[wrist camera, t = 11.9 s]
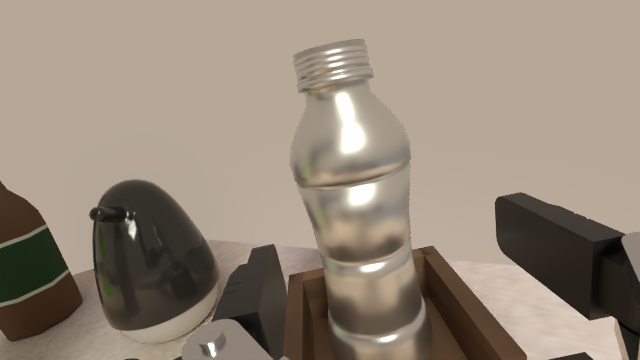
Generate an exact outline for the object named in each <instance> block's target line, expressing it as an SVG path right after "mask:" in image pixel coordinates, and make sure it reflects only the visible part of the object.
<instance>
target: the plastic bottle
mask: <svg viewBox="0 0 640 360" xmlns="http://www.w3.org/2000/svg"><path fill="white" fill-rule="evenodd" d="M293 58H294V61H293V62H294V66H295V71H296V75H297V79H298V85H297V88H298V92H299V93H304V94H305V96H306V108H305V110H304V112H303V115H302V117H301V119H300V122H299V125H298V126H297V129H296V132H295V136H294V139H293V142H292V145H291V154H290V166H291V169H292V172H293V176H294V179H295V181H296V182H297V187H298V190H299V192H300V195H301V197H302V200H303V203H304V205H305V207H306V210H307V213H308V216H309V218H310V221H311V223H312V226H313V230H314V234H315V237H316V240H317V245H318V247H319V250H320V255H321V259H322V262H323V266H324V274H325V282H326V290H327V298H328V306H329V310H328V330H329V342H330V346H331V349H332V352H333V354H334V356H335V358H336V360H430V357H431V349H432V339H433V330H432V324H431V321H430V317H429V313H428V310H427V307H426V304H425V302H424V299H423V297H422V295H421V291H420V287H419V282H418V278H417V273H416V269H415V264H414V260H413V255H412V248H411V237H410V219H409V190H410V162H409V161H410V159H411V156H410V140H409V138H408V136H407V133H406V131H405V129H404V126H403V124H402V123H401V122H400V121H399V120H398V119H397V117H396V116H395V115H394V114H393V113H392V112H391V110H390V109H389V108H388V107H387V106H386V105H384V103H382V102H381V101H380V100H379V99H378V98H377V97H376V96H375V95H374V94H373V93H372V92H371V90H370V87H369V84H368V80H369V78H372V77H374V76H373V70H372V69H370V64H369V58H368V52H367V46H366V44H365V40H363V39H355V40H347V41H340V42H335V43H330V44H326V45H322V46H318V47H314V48H311V49H308V50H305V51H302V52H299V53H297V54H295V55H294V56H293Z"/></svg>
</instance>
